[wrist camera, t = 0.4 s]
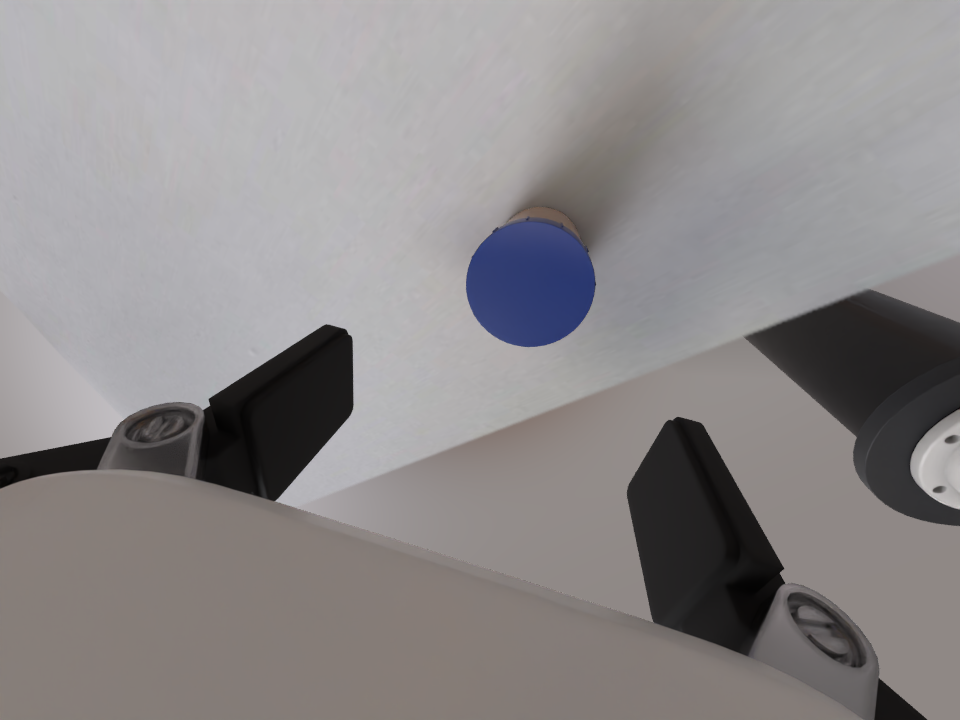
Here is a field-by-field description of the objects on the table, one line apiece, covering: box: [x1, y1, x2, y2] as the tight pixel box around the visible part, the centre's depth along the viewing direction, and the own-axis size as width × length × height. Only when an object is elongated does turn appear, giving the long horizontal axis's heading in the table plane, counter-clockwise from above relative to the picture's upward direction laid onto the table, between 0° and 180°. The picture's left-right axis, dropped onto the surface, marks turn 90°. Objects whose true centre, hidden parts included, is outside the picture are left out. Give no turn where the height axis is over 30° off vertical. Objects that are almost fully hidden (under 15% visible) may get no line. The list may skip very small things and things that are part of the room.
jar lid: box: [466, 216, 596, 347], centre depth 19 cm, size 7×7×2 cm
